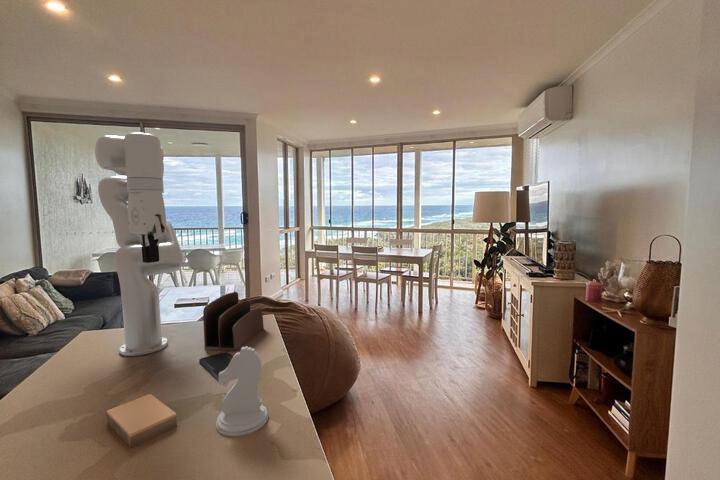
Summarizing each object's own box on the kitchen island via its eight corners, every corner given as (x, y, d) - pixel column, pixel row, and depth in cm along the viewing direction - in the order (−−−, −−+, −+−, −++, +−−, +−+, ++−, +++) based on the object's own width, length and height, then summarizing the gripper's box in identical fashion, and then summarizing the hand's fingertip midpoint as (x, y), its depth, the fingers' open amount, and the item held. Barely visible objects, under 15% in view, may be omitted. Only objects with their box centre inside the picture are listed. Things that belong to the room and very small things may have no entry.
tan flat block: (106, 410, 70) (130, 434, 63) (150, 393, 77) (176, 413, 69) (107, 424, 71) (131, 450, 63) (151, 406, 77) (177, 427, 70)
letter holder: (204, 350, 106) (201, 304, 105) (237, 327, 126) (235, 288, 124) (235, 352, 105) (232, 305, 103) (264, 329, 124) (262, 289, 123)
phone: (226, 351, 103) (248, 368, 92) (226, 355, 103) (248, 372, 92) (197, 359, 98) (217, 378, 87) (197, 363, 98) (218, 382, 87)
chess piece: (222, 409, 75) (218, 340, 74) (270, 404, 77) (267, 336, 75) (210, 439, 65) (205, 360, 64) (265, 433, 67) (262, 356, 65)
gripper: (115, 187, 87) (121, 261, 89) (143, 184, 79) (149, 267, 80) (147, 188, 93) (152, 257, 95) (177, 185, 85) (182, 262, 86)
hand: (151, 261), depth 88 cm, fingers closed
